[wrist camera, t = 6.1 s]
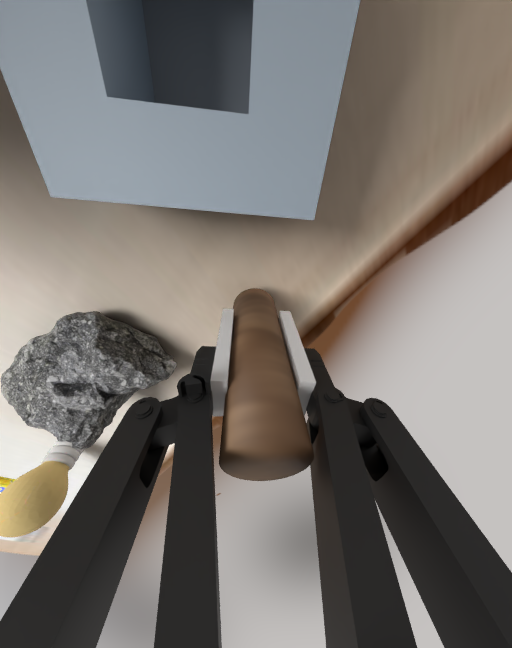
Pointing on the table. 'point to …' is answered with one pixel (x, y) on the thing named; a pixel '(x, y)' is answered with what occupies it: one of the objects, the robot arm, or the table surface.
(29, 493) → the light bulb
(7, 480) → the candy bar
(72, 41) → the socket
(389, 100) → the table surface
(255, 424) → the peg
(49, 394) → the rock
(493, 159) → the table surface
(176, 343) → the table surface
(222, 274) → the table surface
